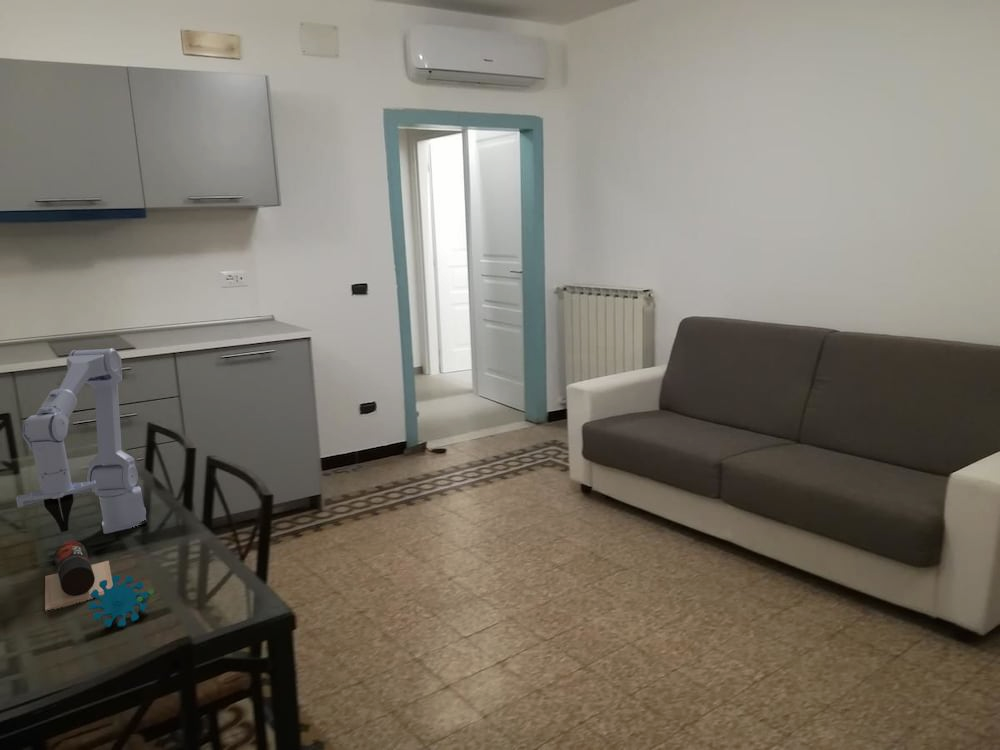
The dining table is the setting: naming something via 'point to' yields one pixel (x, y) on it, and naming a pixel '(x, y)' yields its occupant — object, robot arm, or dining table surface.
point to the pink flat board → (60, 599)
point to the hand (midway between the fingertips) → (64, 529)
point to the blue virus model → (119, 600)
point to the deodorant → (74, 568)
